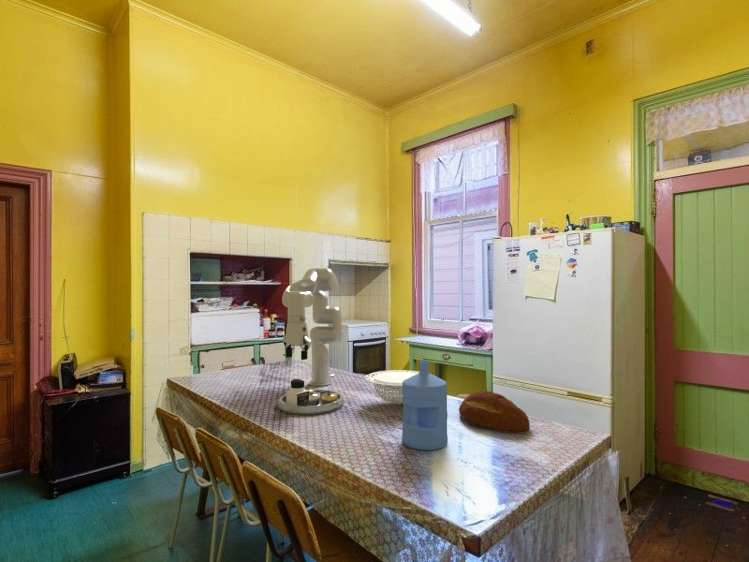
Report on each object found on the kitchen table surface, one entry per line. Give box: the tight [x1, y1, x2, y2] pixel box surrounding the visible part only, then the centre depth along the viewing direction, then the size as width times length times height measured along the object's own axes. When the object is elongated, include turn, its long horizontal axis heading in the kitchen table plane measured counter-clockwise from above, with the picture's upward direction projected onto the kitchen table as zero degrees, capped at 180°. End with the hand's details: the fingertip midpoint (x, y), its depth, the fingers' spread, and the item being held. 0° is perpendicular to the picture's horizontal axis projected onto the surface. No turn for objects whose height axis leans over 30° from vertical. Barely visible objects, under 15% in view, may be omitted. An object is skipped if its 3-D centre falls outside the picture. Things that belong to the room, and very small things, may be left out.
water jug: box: [401, 360, 449, 451], centre depth 144 cm, size 16×16×28 cm
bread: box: [458, 390, 531, 434], centre depth 164 cm, size 21×33×12 cm, turn 30°
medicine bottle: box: [285, 378, 309, 406], centre depth 183 cm, size 7×7×12 cm
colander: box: [363, 369, 420, 406], centre depth 189 cm, size 32×32×13 cm
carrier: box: [278, 387, 344, 416], centre depth 189 cm, size 29×29×6 cm
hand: (296, 358), depth 184 cm, fingers open, 9 cm apart
